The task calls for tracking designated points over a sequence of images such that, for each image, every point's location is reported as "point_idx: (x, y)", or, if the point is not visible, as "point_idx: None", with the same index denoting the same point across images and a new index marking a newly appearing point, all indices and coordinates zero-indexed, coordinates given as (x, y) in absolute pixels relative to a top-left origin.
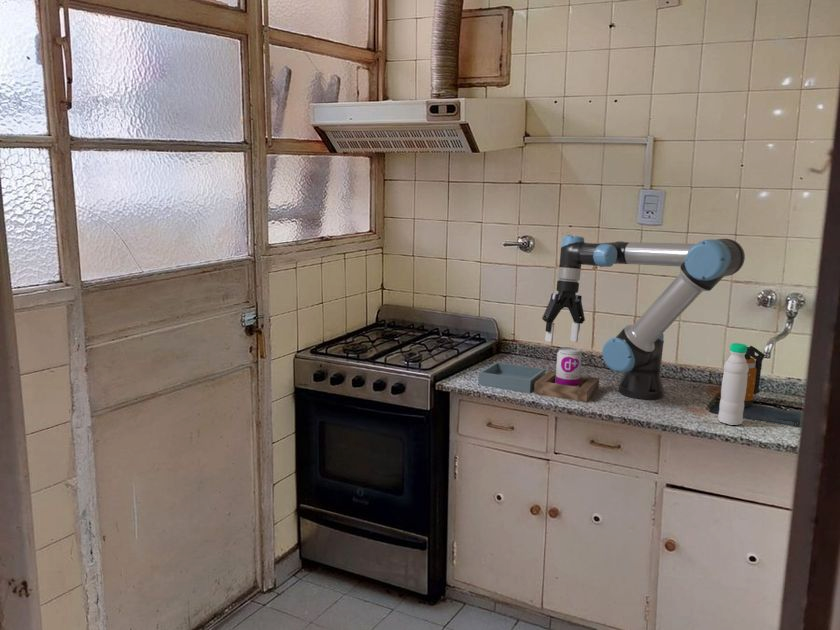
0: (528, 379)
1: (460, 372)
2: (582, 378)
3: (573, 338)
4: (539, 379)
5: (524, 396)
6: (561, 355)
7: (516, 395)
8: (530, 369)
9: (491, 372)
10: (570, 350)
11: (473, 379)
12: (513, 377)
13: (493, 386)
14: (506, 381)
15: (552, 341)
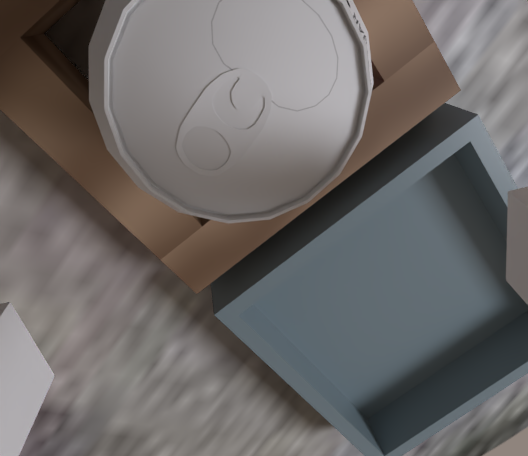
0: (473, 139)
1: (479, 453)
2: (61, 79)
3: (17, 367)
4: (383, 144)
5: (502, 55)
6: (369, 61)
7: (525, 88)
8: (280, 350)
9: (443, 384)
10: (251, 71)
11: None
12: None
13: None
14: None
15: (513, 193)
